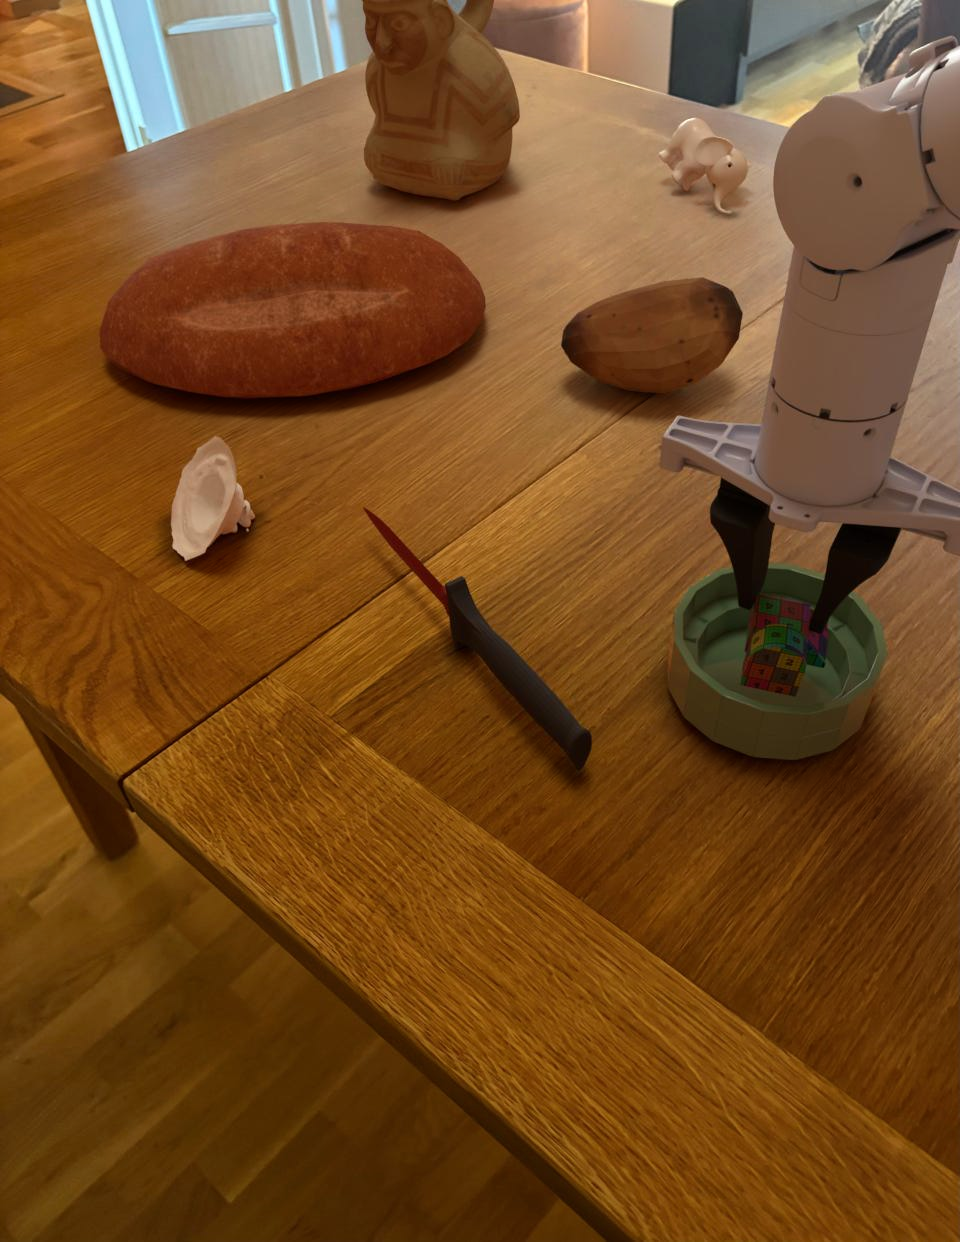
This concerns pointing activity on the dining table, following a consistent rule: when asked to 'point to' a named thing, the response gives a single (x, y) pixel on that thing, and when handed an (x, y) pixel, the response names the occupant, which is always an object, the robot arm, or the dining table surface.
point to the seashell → (207, 500)
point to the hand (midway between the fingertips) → (784, 607)
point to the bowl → (764, 719)
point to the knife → (498, 655)
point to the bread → (291, 310)
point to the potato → (655, 335)
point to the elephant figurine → (705, 159)
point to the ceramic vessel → (436, 98)
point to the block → (780, 645)
